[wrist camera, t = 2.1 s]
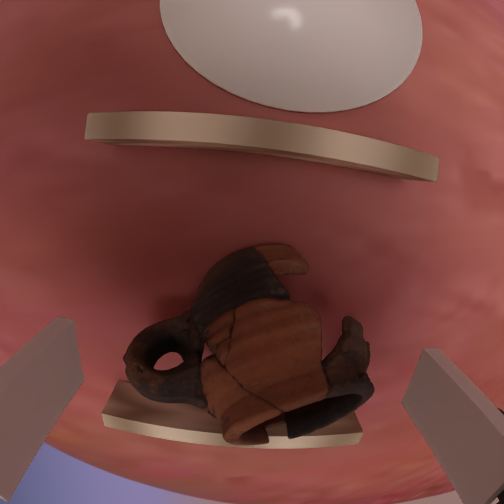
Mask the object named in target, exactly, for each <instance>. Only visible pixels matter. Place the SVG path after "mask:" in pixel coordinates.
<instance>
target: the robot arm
mask: <svg viewBox="0 0 504 504" xmlns="http://www.w3.org/2000/svg"><path fill="white" fill-rule="evenodd" d="M83 382H84V376H83V371H82V366H81V361H80V355H79V349H78V343H77V337H76V330H75V322H74V320H72V319H67V318H63V317H58V316H57V317H56V318H55V319H54V320H53V321H52V322H50V323H49V324H48V325H47V326H46V327H45V328H43V329H42V330H41V331H40V332H39V333H38V334H37V335H35V336H34V337H33V338H32V339H31V340H30V341H29V342H28V343H26V344H25V345H24V346H23V347H22V348H21V349H20V350H19V351H18V352H16V353H15V354H14V355H13V356H12V357H11V358H10V359H9V360H8V361H7V362H6V363H5V364H4V365H2V366H1V367H0V498H1V499H3V500H4V501H6V502H9V500H10V498H11V497H12V495H13V493H14V491H15V489H16V487H17V486H18V484H19V482H20V481H21V479H22V477H23V475H24V474H25V472H26V470H27V469H28V467H29V465H30V463H31V462H32V460H33V459H34V457H35V455H36V454H37V452H38V450H39V449H40V447H41V446H42V444H43V442H44V441H45V439H46V438H47V436H48V434H49V433H50V431H51V430H52V428H53V427H54V425H55V423H56V422H57V420H58V419H59V417H60V416H61V414H62V413H63V411H64V410H65V408H66V407H67V405H68V404H69V402H70V401H71V399H72V398H73V396H74V395H75V393H76V392H77V390H78V389H79V387H80V386H81V385H82V383H83ZM401 403H402V405H403V406H404V408H405V409H406V411H407V412H408V414H409V415H410V417H411V419H412V420H413V422H414V423H415V425H416V426H417V428H418V429H419V431H420V433H421V434H422V436H423V437H424V439H425V441H426V442H427V444H428V445H429V447H430V449H431V450H432V452H433V453H434V455H435V457H436V458H437V460H438V462H439V463H440V465H441V466H442V468H443V470H444V471H445V473H446V475H447V476H448V478H449V480H450V481H451V483H452V485H453V486H454V488H455V490H456V492H457V493H458V495H459V496H460V498H461V500H462V502H463V503H464V504H490V503H492V501H494V500H495V498H496V497H498V499H499V502H498V503H497V504H504V412H503V411H502V410H501V409H499V408H497V407H496V406H495V405H494V404H493V403H492V402H491V401H490V400H489V399H488V398H487V397H486V396H485V395H484V394H483V393H482V392H481V391H480V390H479V389H478V388H477V386H476V385H475V384H474V383H473V382H472V381H471V380H470V379H469V378H468V377H467V376H466V375H465V374H464V373H463V372H462V371H461V370H460V369H459V368H458V367H457V366H456V365H455V364H454V363H453V362H452V361H451V360H450V359H448V358H447V357H446V356H445V355H444V354H443V353H442V352H441V351H440V350H439V349H438V348H423V351H422V353H421V356H420V359H419V361H418V364H417V366H416V369H415V371H414V374H413V376H412V379H411V381H410V384H409V386H408V388H407V391H406V393H405V395H404V397H403V399H402V402H401Z"/></svg>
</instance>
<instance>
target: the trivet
mask: <svg viewBox="0 0 504 504" xmlns="http://www.w3.org/2000/svg"><path fill="white" fill-rule="evenodd" d="M160 13H161V19H162V23H163V26H164V28H165V31H166V34H167V36H168V37H169V39H170V41H171V43H172V44H173V46H174V48H175V49H176V51H177V52H178V53H179V54H180V56H181V57H182V58H183V59H184V60H185V62H186V63H188V64H189V65H190V66H191V67H192V68H193V69H194V70H195V71H196V72H197V73H198V74H200V75H201V76H203V77H204V78H206V79H207V80H208V81H210V82H211V83H212V84H214V85H216V86H218V87H220V88H222V89H223V90H225V91H227V92H229V93H231V94H233V95H236V96H238V97H240V98H243V99H245V100H247V101H250V102H254V103H257V104H260V105H264V106H267V107H271V108H276V109H281V110H286V111H295V112H304V113H329V112H338V111H346V110H350V109H354V108H358V107H362V106H364V105H367V104H369V103H372V102H375V101H377V100H379V99H381V98H382V97H384V96H386V95H388V94H389V93H391V92H392V91H394V90H395V89H396V88H397V87H398V86H400V85H401V84H402V83H403V82H404V81H405V79H406V78H407V77H408V76H409V75H410V73H411V72H412V70H413V68H414V67H415V65H416V63H417V60H418V57H419V55H420V52H421V46H422V23H421V17H420V13H419V10H418V7H417V4H416V1H415V0H160Z"/></svg>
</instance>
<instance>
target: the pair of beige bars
mask: <svg viewBox="0 0 504 504" xmlns="http://www.w3.org/2000/svg"><path fill="white" fill-rule="evenodd" d="M84 139H85V140H90V141H95V142H100V143H106V144H111V145H136V146H166V147H185V148H200V149H212V150H224V151H235V152H244V153H253V154H262V155H270V156H278V157H285V158H292V159H299V160H306V161H312V162H318V163H324V164H330V165H336V166H341V167H347V168H352V169H357V170H362V171H367V172H372V173H377V174H381V175H386V176H391V177H395V178H399V179H406V180H419V181H431V182H437V175H438V165H439V157H436V156H433V155H430V154H427V153H424V152H420V151H417V150H414V149H410V148H407V147H403V146H399V145H396V144H392V143H388V142H384V141H380V140H376V139H372V138H368V137H364V136H359V135H355V134H350V133H346V132H341V131H336V130H331V129H326V128H320V127H315V126H309V125H303V124H297V123H291V122H284V121H277V120H269V119H261V118H253V117H244V116H234V115H222V114H209V113H192V112H163V111H126V112H99V113H88V116H87V122H86V130H85V138H84ZM208 411H209V408H208V407H207V408H204V409H200V408H197V407H195V406H193V405H190V404H181V403H161V402H156V401H152V400H149V399H147V398H145V397H144V396H142V395H141V394H140V393H139V392H137V391H136V390H135V389H134V388H133V386H132V385H131V383H127V382H123V381H118V383H117V384H116V386H115V388H114V390H113V392H112V394H111V396H110V398H109V400H108V402H107V404H106V405H105V407H104V409H103V411H102V417H103V421H104V425H105V426H107V427H110V428H114V429H119V430H123V431H127V432H132V433H136V434H141V435H146V436H151V437H157V438H162V439H168V440H175V441H182V442H189V443H197V444H206V445H216V446H228V447H244V448H317V447H332V446H344V445H354V444H358V442H359V440H360V438H361V436H362V434H363V430H362V428H361V425H360V423H359V421H358V419H357V416H356V414H355V412H354V411H353V412H351V413H350V414H348V415H347V416H345V417H343V418H341V419H340V420H338V421H336V422H335V423H333V424H330V425H329V426H327V427H324V428H322V429H319V430H316V431H314V432H312V433H309V434H306V435H304V436H301V437H297V438H294V439H288V433H287V425H286V423H284V424H281V425H278V426H275V427H270V428H266V431H267V434H268V437H269V443H267V444H261V445H249V446H245V445H244V446H242V445H232V444H230V443H227V442H226V441H225V440H224V438H223V436H222V434H223V431H222V427H221V422H219V421H217V420H215V419H214V418H213V417H212V416H210V415H209V414H208Z"/></svg>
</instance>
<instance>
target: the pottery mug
mask: <svg viewBox="0 0 504 504" xmlns="http://www.w3.org/2000/svg"><path fill="white" fill-rule="evenodd" d="M308 270H309V266H308V264H307V262H306V261H305V260H304V259H303V258H302V257H301V256H300V255H299V254H298V253H297V252H296V251H295V250H294V249H293V248H292V247H291V246H286V245H280V244H274V245H272V244H268V245H262V246H256V247H251V248H247V249H244V250H241V251H239V252H236V253H233V254H231V255H229V256H228V257H226V258H225V259H223V260H221V261H219V262H218V263H217V264H216V265H214V266H213V267H212V268H211V269H210V270H209V272H208V273H207V275H206V276H205V277H204V279H203V281H202V282H201V284H200V286H199V290H198V293H197V295H196V298H195V300H194V303H193V306H192V307H191V310H190V311H186V312H184V313H183V314H182V315H180V316H178V317H175V318H171V319H168V320H164V321H161V322H158V323H155V324H153V325H151V326H149V327H147V328H145V329H144V330H142V331H141V332H140V333H139V334H138V335H137V336H136V337H135V338H134V339H133V341H132V342H131V344H130V345H129V347H128V349H127V351H126V353H125V355H124V356H123V360H124V362H125V364H126V371H125V372H126V375H127V377H128V379H129V381H130V383H131V385H132V386H133V388H134V389H135V390H136V391H137V392H139V393H140V394H141V395H142V396H144V397H145V398H147V399H149V400H152V401H156V402H161V403H181V404H190V405H193V406H195V407H197V408H200V409H204V408H207V407H208V408H209V411H208V414H209V415H210V416H212V417H213V418H214V419H215V420H217V421H219V422H221V427H222V431H223V434H222V436H223V438H224V440H225V441H226V442H227V443H230V444H232V445H242V446H244V445H245V446H249V445H261V444H267V443H269V437H268V434H267V431H266V428H270V427H275V426H278V425H281V424H284V423H286V425H287V433H288V439H294V438H297V437H301V436H304V435H306V434H309V433H312V432H314V431H316V430H319V429H322V428H324V427H327V426H329V425H330V424H333V423H335V422H336V421H338V420H340V419H341V418H343V417H345V416H347V415H348V414H350V413H351V412H353V411H354V410H356V409H357V408H358V407H360V406H361V405H362V404H364V403H365V402H366V401H367V400H368V399H369V398H370V397H371V396H372V394H373V393H374V386H373V384H372V383H371V382H370V379H369V378H368V374H367V373H366V370H367V368H368V365H369V362H370V350H369V348H370V347H369V346H370V344H369V343H368V342H366V341H365V340H364V337H363V327H362V325H361V324H360V323H359V322H358V321H357V320H355V319H354V318H352V317H350V316H346V317H344V319H343V321H342V332H343V334H342V335H341V337H340V338H339V340H338V343H337V344H336V346H335V347H334V349H333V350H332V351H331V353H329V354H328V355H327V356H326V358H325V359H324V360H322V361H321V356H322V347H321V341H322V333H321V318H320V316H319V315H317V314H316V312H315V310H314V309H313V308H312V307H310V306H309V305H308V304H307V303H304V302H298V301H291V300H290V295H289V293H288V292H287V291H286V289H285V288H284V287H283V285H282V284H281V283H280V282H279V281H278V279H277V278H276V276H279V275H283V274H285V275H288V274H301V275H305V274H307V272H308ZM205 342H206V344H207V346H208V347H209V349H210V351H211V352H212V353H213V354H212V355H211V356H208V357H206V358H205V359H204V360H203V361H202V354H203V350H204V343H205ZM168 352H177V353H179V354H180V355H181V357H182V358H183V360H184V362H183V363H181V364H180V365H179V366H177V367H175V368H172V369H169V370H163V371H161V370H155V369H154V365H155V364H156V362H157V360H158V359H159V358H160V357H162V356H163V355H164V354H166V353H168Z"/></svg>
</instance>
